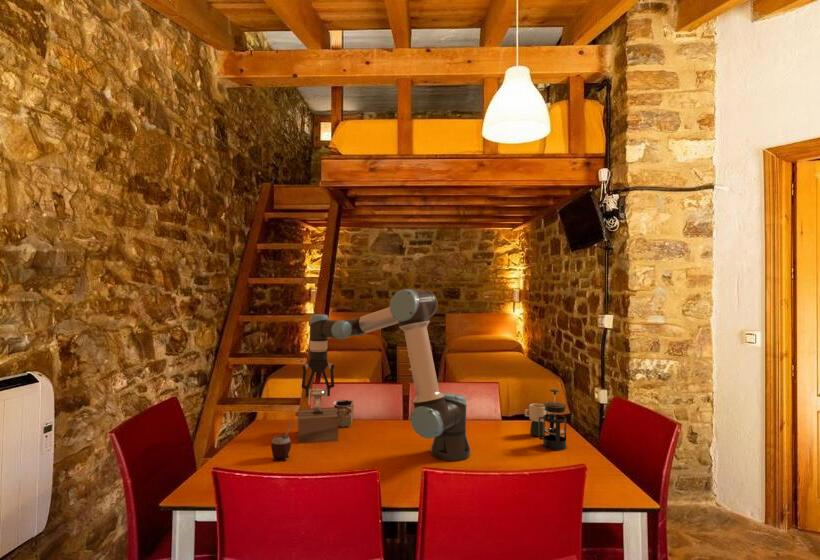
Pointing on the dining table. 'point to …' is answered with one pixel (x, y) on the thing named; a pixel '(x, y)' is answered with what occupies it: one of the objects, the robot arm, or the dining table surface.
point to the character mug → (536, 417)
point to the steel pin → (317, 399)
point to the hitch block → (317, 425)
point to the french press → (554, 438)
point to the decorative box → (344, 412)
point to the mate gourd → (281, 446)
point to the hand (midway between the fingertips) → (317, 404)
